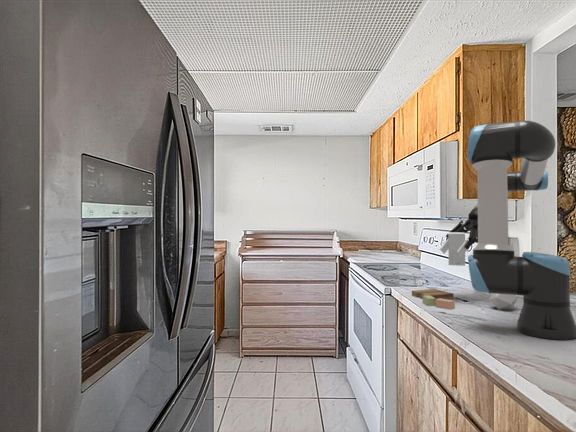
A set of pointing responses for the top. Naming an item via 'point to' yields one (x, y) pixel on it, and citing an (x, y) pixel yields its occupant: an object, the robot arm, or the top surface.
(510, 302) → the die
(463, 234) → the small box
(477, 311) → the top surface
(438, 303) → the terracotta brick
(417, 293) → the walnut slab
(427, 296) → the olive brick
